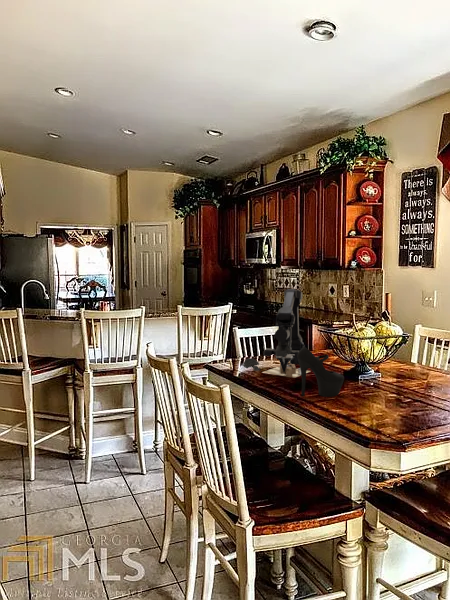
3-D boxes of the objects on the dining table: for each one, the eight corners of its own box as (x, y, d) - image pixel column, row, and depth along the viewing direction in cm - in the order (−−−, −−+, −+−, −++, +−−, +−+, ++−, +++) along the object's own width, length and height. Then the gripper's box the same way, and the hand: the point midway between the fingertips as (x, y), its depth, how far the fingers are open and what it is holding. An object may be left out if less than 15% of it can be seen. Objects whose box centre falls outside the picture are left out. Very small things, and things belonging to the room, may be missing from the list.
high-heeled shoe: (346, 397, 200) (346, 347, 199) (299, 398, 199) (299, 348, 197) (340, 391, 208) (340, 344, 207) (294, 392, 207) (295, 344, 205)
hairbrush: (250, 369, 239) (242, 356, 264) (249, 377, 240) (242, 363, 265) (267, 369, 240) (257, 356, 265) (266, 376, 241) (257, 363, 266)
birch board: (278, 368, 252) (278, 366, 252) (311, 373, 241) (311, 371, 241) (261, 374, 239) (261, 372, 239) (295, 380, 228) (295, 377, 228)
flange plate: (279, 370, 243) (279, 363, 243) (294, 370, 243) (294, 363, 243) (281, 376, 230) (281, 369, 229) (297, 376, 229) (297, 369, 229)
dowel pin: (298, 374, 235) (299, 367, 234) (302, 374, 234) (302, 368, 233) (297, 375, 233) (297, 368, 233) (300, 375, 232) (300, 368, 232)
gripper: (260, 339, 226) (259, 373, 228) (301, 342, 220) (300, 377, 221) (267, 336, 237) (266, 369, 238) (306, 338, 230) (305, 372, 232)
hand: (284, 372), depth 232 cm, fingers closed
